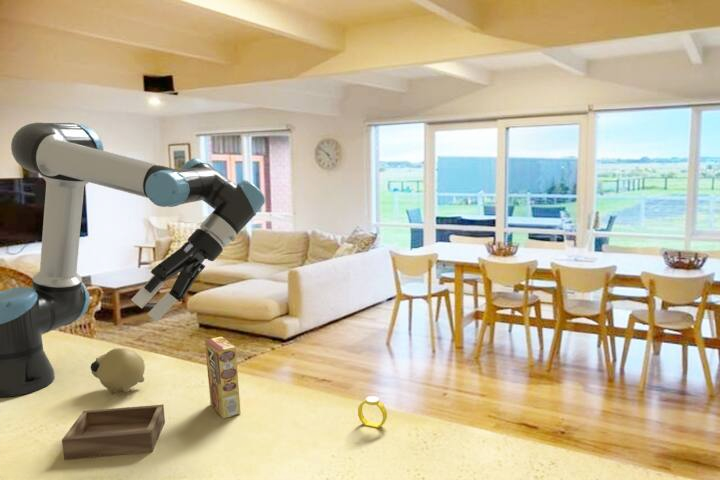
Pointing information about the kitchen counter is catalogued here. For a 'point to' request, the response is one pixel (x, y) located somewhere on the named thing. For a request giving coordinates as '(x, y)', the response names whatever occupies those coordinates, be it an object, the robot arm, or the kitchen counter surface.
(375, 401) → the gold gem ring
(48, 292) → the robot arm
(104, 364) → the round plush toy
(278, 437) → the kitchen counter surface
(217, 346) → the candy box
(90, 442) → the tray
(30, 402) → the kitchen counter surface
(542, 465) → the kitchen counter surface
